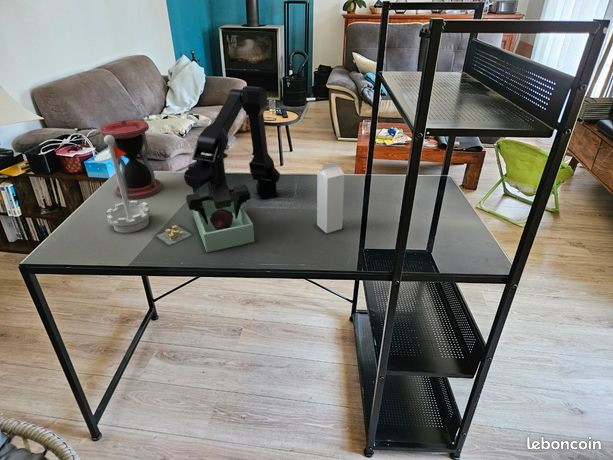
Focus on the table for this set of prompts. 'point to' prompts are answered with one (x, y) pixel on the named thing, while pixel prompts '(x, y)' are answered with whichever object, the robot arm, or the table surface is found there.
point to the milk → (330, 197)
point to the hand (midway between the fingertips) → (221, 221)
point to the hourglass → (133, 157)
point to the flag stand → (125, 200)
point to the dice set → (173, 235)
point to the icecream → (221, 219)
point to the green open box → (228, 237)
